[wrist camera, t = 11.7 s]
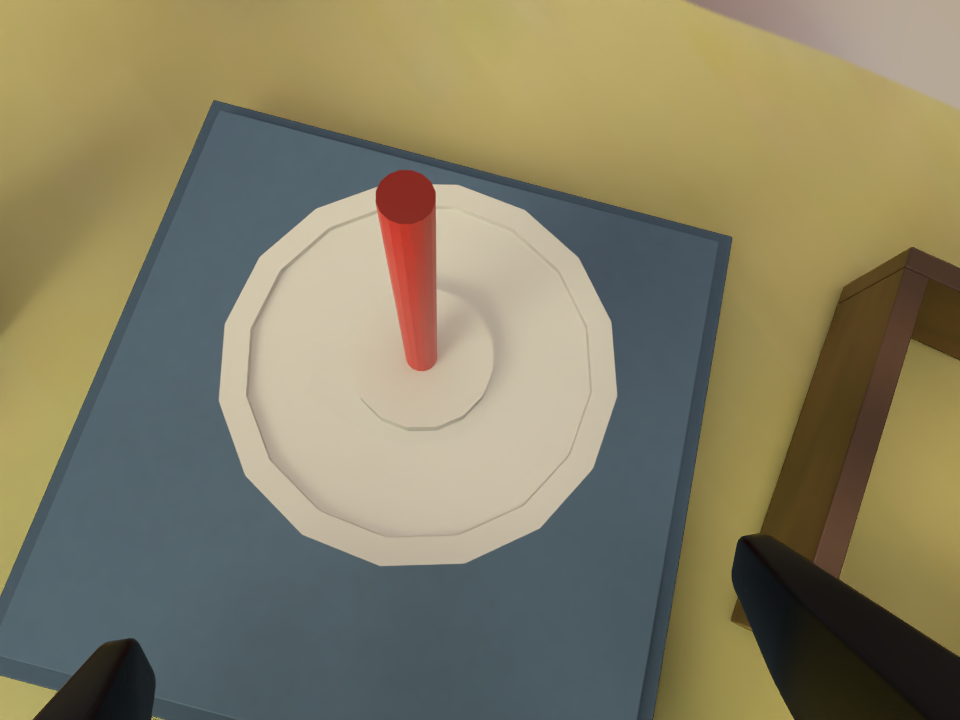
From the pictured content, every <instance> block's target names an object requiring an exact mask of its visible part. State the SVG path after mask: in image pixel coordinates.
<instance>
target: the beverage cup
mask: <svg viewBox="0 0 960 720" xmlns="http://www.w3.org/2000/svg"><path fill="white" fill-rule="evenodd" d="M616 398H617V386H616V373H615V361H614V348H613V336H612V324H611V320H610V318H609V316H608V314H607V312H606V311H605V309H604V307H603V305H602V303H601V301H600V299H599V297H598V295H597V293H596V291H595V289H594V287H593V285H592V283H591V281H590V279H589V277H588V275H587V273H586V271H585V269H584V267H583V265H582V263H581V261H580V259H579V258H578V257H577V256H576V255H575V254H574V253H573V252H572V251H570V250H569V249H568V248H567V247H566V246H565V245H564V244H563V243H561V242H560V241H559V240H558V239H557V238H556V237H555V236H554V235H552V234H551V233H550V232H549V231H548V230H547V229H546V228H544V227H543V226H542V225H541V224H540V223H539V222H538V221H537V220H535V219H534V218H533V217H532V216H531V215H530V214H529V213H528V212H526V211H525V210H523V209H520V208H518V207H515V206H513V205H510V204H507V203H505V202H502V201H499V200H497V199H494V198H492V197H489V196H486V195H484V194H481V193H478V192H476V191H473V190H470V189H468V188H465V187H463V186H460V185H439V184H432V183H431V181H430V180H429V179H427V178H426V177H425V176H424V175H423V174H421V173H418V172H415V171H413V170H399V171H396V172H393V173H390V174H388V175H387V176H386V177H385V178H384V179H383V180H381V181H380V183H379V185H378V187H375V188H373V189H370V190H367V191H364V192H361V193H359V194H356V195H353V196H350V197H347V198H345V199H342V200H339V201H336V202H333V203H331V204H328V205H325V206H322V207H320V208H317V209H315V210H314V211H313V212H312V213H311V214H309V215H308V216H307V217H306V218H305V219H304V220H302V221H301V222H300V223H299V224H298V225H297V226H295V227H294V228H293V229H292V230H291V231H290V232H288V233H287V234H286V235H285V236H284V237H283V238H281V239H280V240H279V241H278V242H277V243H275V244H274V245H273V246H272V247H271V248H270V249H268V250H267V251H266V252H265V253H264V254H263V255H261V256H260V257H259V259H258V261H257V263H256V265H255V267H254V269H253V271H252V273H251V275H250V277H249V278H248V280H247V282H246V284H245V286H244V288H243V290H242V292H241V294H240V296H239V298H238V300H237V301H236V303H235V305H234V307H233V309H232V311H231V313H230V315H229V317H228V319H227V321H226V322H225V328H224V340H223V353H222V366H221V378H220V391H219V403H220V406H221V409H222V411H223V414H224V417H225V420H226V423H227V425H228V428H229V431H230V434H231V437H232V440H233V442H234V445H235V448H236V451H237V454H238V456H239V459H240V462H241V465H242V468H243V471H244V473H245V476H246V477H247V478H248V479H249V480H250V481H251V482H252V483H253V484H254V485H255V486H256V487H257V488H258V489H259V490H260V491H261V492H262V493H263V495H264V496H265V497H266V498H267V499H268V500H269V501H270V502H271V503H272V504H273V505H274V506H275V507H276V508H277V509H278V510H279V511H280V512H281V513H282V514H283V515H284V516H285V517H286V518H287V519H288V520H289V522H290V523H291V524H292V525H293V526H294V527H295V528H296V529H297V530H298V531H299V532H300V533H301V534H302V535H304V536H307V537H309V538H312V539H314V540H317V541H319V542H322V543H324V544H327V545H329V546H331V547H334V548H336V549H339V550H341V551H344V552H346V553H349V554H351V555H354V556H356V557H359V558H361V559H364V560H366V561H369V562H371V563H374V564H376V565H379V566H401V565H434V564H465V563H467V562H469V561H471V560H473V559H476V558H478V557H480V556H482V555H484V554H486V553H488V552H490V551H493V550H495V549H497V548H499V547H501V546H503V545H505V544H508V543H510V542H512V541H514V540H516V539H518V538H520V537H523V536H525V535H527V534H529V533H531V532H533V531H535V530H538V529H540V528H541V527H542V525H543V524H544V523H545V522H546V521H547V520H548V519H549V518H550V516H551V515H552V514H553V513H554V512H555V511H556V510H557V509H558V507H559V506H560V505H561V504H562V503H563V502H564V501H565V500H566V498H567V497H568V496H569V495H570V494H571V493H572V492H573V491H574V489H575V488H576V487H577V486H578V485H579V484H580V483H581V482H582V480H583V479H584V478H585V477H586V476H587V475H588V474H589V473H590V471H591V470H592V469H593V467H594V464H595V461H596V458H597V455H598V452H599V449H600V446H601V443H602V440H603V437H604V434H605V431H606V428H607V425H608V422H609V419H610V416H611V413H612V410H613V407H614V404H615V401H616Z"/></svg>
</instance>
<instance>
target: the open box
mask: <svg viewBox="0 0 960 720" xmlns="http://www.w3.org/2000/svg"><path fill="white" fill-rule="evenodd" d="M911 338H914V339H916V340H918V341H920V342H922V343H924V344H927V345H929V346H931V347H933V348H935V349H938V350H940V351H942V352H944V353H946V354H949V355H951V356H953V357H955V358H957V359H959V360H960V268H958V267H956V266H954V265H952V264H950V263H947V262H945V261H943V260H941V259H938V258H936V257H934V256H932V255H930V254H927V253H925V252H923V251H921V250H918V249H916V248H914V247H911V248H909V249H907V250H906V251H904V252H902V253H900V254H899V255H897V256H895V257H894V258H892V259H890V260H888V261H887V262H885V263H883V264H882V265H880V266H878V267H877V268H875V269H873V270H871V271H870V272H868V273H866V274H865V275H863V276H861V277H860V278H858V279H856V280H854V281H853V282H851V283H849V284H848V285H846V286H845V287H844V288H843V291H842V294H841V297H840V300H839V305H838V306H837V308H836V311H835V314H834V317H833V320H832V323H831V326H830V329H829V332H828V335H827V338H826V341H825V344H824V347H823V350H822V353H821V356H820V359H819V362H818V365H817V368H816V371H815V373H814V376H813V379H812V382H811V385H810V388H809V391H808V394H807V397H806V400H805V403H804V406H803V409H802V412H801V415H800V418H799V421H798V424H797V427H796V430H795V433H794V436H793V439H792V441H791V444H790V447H789V450H788V453H787V456H786V459H785V462H784V465H783V468H782V471H781V474H780V477H779V480H778V483H777V486H776V489H775V492H774V495H773V498H772V501H771V504H770V507H769V509H768V512H767V515H766V518H765V521H764V524H763V527H762V530H761V533H766V534H769V535H771V536H773V537H774V538H776V539H777V540H779V541H780V542H782V543H783V544H785V545H787V546H788V547H790V548H791V549H793V550H794V551H796V552H797V553H799V554H801V555H802V556H804V557H805V558H807V559H808V560H810V561H811V562H813V563H814V564H816V565H818V566H819V567H821V568H822V569H824V570H825V571H827V572H828V573H830V574H831V575H833V576H835V577H836V578H838V579H839V576H840V572H841V569H842V566H843V562H844V559H845V556H846V552H847V549H848V546H849V542H850V539H851V536H852V532H853V529H854V526H855V522H856V519H857V516H858V512H859V509H860V506H861V502H862V499H863V496H864V492H865V489H866V486H867V482H868V479H869V476H870V472H871V469H872V465H873V462H874V459H875V455H876V452H877V449H878V445H879V442H880V439H881V435H882V432H883V429H884V425H885V422H886V419H887V415H888V412H889V409H890V405H891V402H892V399H893V395H894V392H895V389H896V385H897V382H898V379H899V375H900V372H901V369H902V365H903V362H904V359H905V355H906V352H907V349H908V345H909V342H910V339H911ZM731 621H732V622H734V623H736V624H738V625H740V626H742V627H744V628H746V629H748V630H750V631H752V629H751V627H750V624H749V622H748V619H747V617H746V615H745V612H744V610H743V608H742V605H741V603H740V601H739V598H738V601H737V604H736V607H735V610H734V613H733V616H732V619H731ZM752 632H753V631H752Z"/></svg>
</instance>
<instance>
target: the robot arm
mask: <svg viewBox="0 0 960 720" xmlns="http://www.w3.org/2000/svg"><path fill="white" fill-rule="evenodd" d="M732 582H733V586H734V589H735V591H736V593H737V596H738V598H739V601H740V603H741V605H742V608H743V610H744V612H745V615H746V617H747V619H748V622H749V624H750V627H751V629H752V631H753V634H754V636H755V638H756V641H757V643H758V646H759V648H760V650H761V653H762V655H763V657H764V660H765V662H766V665H767V667H768V669H769V671H770V674H771V676H772V678H773V680H774V682H775V684H776V686H777V688H778V690H779V692H780V694H781V696H782V698H783V700H784V702H785V703H786V705H787V707H788V709H789V711H790V713H791V714H792V716H793V718H794V720H960V657H958V656H957V655H955V654H954V653H952V652H951V651H949V650H948V649H946V648H945V647H943V646H941V645H940V644H938V643H937V642H935V641H934V640H932V639H931V638H929V637H927V636H926V635H924V634H923V633H921V632H920V631H918V630H917V629H915V628H914V627H912V626H910V625H909V624H907V623H906V622H904V621H903V620H901V619H900V618H898V617H897V616H895V615H893V614H892V613H890V612H889V611H887V610H886V609H884V608H883V607H881V606H879V605H878V604H876V603H875V602H873V601H872V600H870V599H869V598H867V597H866V596H864V595H862V594H861V593H859V592H858V591H856V590H855V589H853V588H852V587H850V586H849V585H847V584H845V583H844V582H842V581H841V580H839V579H838V578H836V577H835V576H833V575H831V574H830V573H828V572H827V571H825V570H824V569H822V568H821V567H819V566H818V565H816V564H814V563H813V562H811V561H810V560H808V559H807V558H805V557H804V556H802V555H801V554H799V553H797V552H796V551H794V550H793V549H791V548H790V547H788V546H787V545H785V544H783V543H782V542H780V541H779V540H777V539H776V538H774V537H773V536H771V535H769V534H766V533H758V534H752V535H746V536H742V537H741V538H740V539H739V540H738V543H737V547H736V552H735V557H734V562H733V567H732ZM155 689H156V678H155V673H154V671H153V669H152V667H151V665H150V663H149V661H148V659H147V657H146V655H145V653H144V651H143V649H142V648H141V646H140V644H139V642H138V641H137V640H135V639H134V638H126V639H120V640H114V641H109V642H106V643H104V644H102V645H101V646H99V647H98V648H97V649H96V650H95V651H94V653H93V654H92V655H91V656H90V657H89V658H88V659H87V660H86V661H85V662H84V664H83V665H82V666H81V667H80V668H79V669H78V670H77V671H76V672H75V674H74V675H73V676H72V677H71V678H70V679H69V680H68V681H67V682H66V683H65V685H64V686H63V687H62V688H61V689H60V690H59V691H58V692H57V693H56V694H55V696H54V697H53V698H52V699H51V700H50V701H49V702H48V703H47V704H46V705H45V707H44V708H43V709H42V710H41V711H40V712H39V713H38V714H37V715H36V716H35V718H34V719H33V720H151V717H152V710H153V704H154V697H155Z"/></svg>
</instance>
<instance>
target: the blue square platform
mask: <svg viewBox="0 0 960 720" xmlns="http://www.w3.org/2000/svg"><path fill="white" fill-rule="evenodd" d="M399 170H413V171H415V172H418V173H421V174H423V175H424V176H425V177H426V178H427V179H429V180H430V181H431V183H432V184H439V185H460V186H463V187H465V188H468V189H470V190H473V191H476V192H478V193H481V194H484V195H486V196H489V197H492V198H494V199H497V200H499V201H502V202H505V203H507V204H510V205H513V206H515V207H518V208H520V209H523V210H525V211H526V212H528V213H529V214H530V215H531V216H532V217H533V218H534V219H535V220H537V221H538V222H539V223H540V224H541V225H542V226H543V227H544V228H546V229H547V230H548V231H549V232H550V233H551V234H552V235H554V236H555V237H556V238H557V239H558V240H559V241H560V242H561V243H563V244H564V245H565V246H566V247H567V248H568V249H569V250H570V251H572V252H573V253H574V254H575V255H576V256H577V257H578V258H579V259H580V261H581V263H582V265H583V267H584V269H585V271H586V273H587V275H588V277H589V279H590V281H591V283H592V285H593V287H594V289H595V291H596V293H597V295H598V297H599V299H600V301H601V303H602V305H603V307H604V309H605V311H606V312H607V314H608V316H609V318H610V320H611V324H612V336H613V348H614V361H615V373H616V386H617V398H616V401H615V404H614V407H613V410H612V413H611V416H610V419H609V422H608V425H607V428H606V431H605V434H604V437H603V440H602V443H601V446H600V449H599V452H598V455H597V458H596V461H595V464H594V467H593V469H592V470H591V471H590V473H589V474H588V475H587V476H586V477H585V478H584V479H583V480H582V482H581V483H580V484H579V485H578V486H577V487H576V488H575V489H574V491H573V492H572V493H571V494H570V495H569V496H568V497H567V498H566V500H565V501H564V502H563V503H562V504H561V505H560V506H559V507H558V509H557V510H556V511H555V512H554V513H553V514H552V515H551V516H550V518H549V519H548V520H547V521H546V522H545V523H544V524H543V525H542V527H541V528H540V529H538V530H535V531H533V532H531V533H529V534H527V535H525V536H523V537H520V538H518V539H516V540H514V541H512V542H510V543H508V544H505V545H503V546H501V547H499V548H497V549H495V550H493V551H490V552H488V553H486V554H484V555H482V556H480V557H478V558H476V559H473V560H471V561H469V562H467V563H465V564H434V565H401V566H379V565H376V564H374V563H371V562H369V561H366V560H364V559H361V558H359V557H356V556H354V555H351V554H349V553H346V552H344V551H341V550H339V549H336V548H334V547H331V546H329V545H327V544H324V543H322V542H319V541H317V540H314V539H312V538H309V537H307V536H304V535H302V534H301V533H300V532H299V531H298V530H297V529H296V528H295V527H294V526H293V525H292V524H291V523H290V522H289V520H288V519H287V518H286V517H285V516H284V515H283V514H282V513H281V512H280V511H279V510H278V509H277V508H276V507H275V506H274V505H273V504H272V503H271V502H270V501H269V500H268V499H267V498H266V497H265V496H264V495H263V493H262V492H261V491H260V490H259V489H258V488H257V487H256V486H255V485H254V484H253V483H252V482H251V481H250V480H249V479H248V478H247V477H246V476H245V473H244V471H243V468H242V465H241V462H240V459H239V456H238V454H237V451H236V448H235V445H234V442H233V440H232V437H231V434H230V431H229V428H228V425H227V423H226V420H225V417H224V414H223V411H222V409H221V406H220V403H219V391H220V378H221V366H222V353H223V340H224V328H225V322H226V321H227V319H228V317H229V315H230V313H231V311H232V309H233V307H234V305H235V303H236V301H237V300H238V298H239V296H240V294H241V292H242V290H243V288H244V286H245V284H246V282H247V280H248V278H249V277H250V275H251V273H252V271H253V269H254V267H255V265H256V263H257V261H258V259H259V257H260V256H261V255H263V254H264V253H265V252H266V251H267V250H268V249H270V248H271V247H272V246H273V245H274V244H275V243H277V242H278V241H279V240H280V239H281V238H283V237H284V236H285V235H286V234H287V233H288V232H290V231H291V230H292V229H293V228H294V227H295V226H297V225H298V224H299V223H300V222H301V221H302V220H304V219H305V218H306V217H307V216H308V215H309V214H311V213H312V212H313V211H314V210H315V209H317V208H320V207H322V206H325V205H328V204H331V203H333V202H336V201H339V200H342V199H345V198H347V197H350V196H353V195H356V194H359V193H361V192H364V191H367V190H370V189H373V188H375V187H378V185H379V183H380V181H381V180H383V179H384V178H385V177H386V176H387V175H388V174H390V173H393V172H396V171H399ZM731 243H732V237H730V236H727V235H723V234H719V233H715V232H711V231H708V230H704V229H700V228H696V227H692V226H689V225H685V224H681V223H677V222H674V221H670V220H666V219H662V218H658V217H655V216H651V215H647V214H643V213H639V212H636V211H632V210H628V209H624V208H621V207H617V206H613V205H609V204H605V203H602V202H598V201H594V200H590V199H586V198H583V197H579V196H575V195H571V194H568V193H564V192H560V191H556V190H552V189H549V188H545V187H541V186H537V185H533V184H530V183H526V182H522V181H518V180H515V179H511V178H507V177H503V176H499V175H496V174H492V173H488V172H484V171H480V170H477V169H473V168H469V167H465V166H462V165H458V164H454V163H450V162H446V161H443V160H439V159H435V158H431V157H427V156H424V155H420V154H416V153H412V152H409V151H405V150H401V149H397V148H393V147H390V146H386V145H382V144H378V143H374V142H371V141H367V140H363V139H359V138H356V137H352V136H348V135H344V134H340V133H337V132H333V131H329V130H325V129H321V128H318V127H314V126H310V125H306V124H303V123H299V122H295V121H291V120H287V119H284V118H280V117H276V116H272V115H268V114H265V113H261V112H257V111H253V110H250V109H246V108H242V107H238V106H234V105H231V104H227V103H223V102H219V101H215V100H214V101H213V103H212V105H211V107H210V110H209V112H208V114H207V117H206V119H205V121H204V124H203V126H202V128H201V131H200V133H199V135H198V138H197V140H196V142H195V145H194V147H193V149H192V152H191V154H190V156H189V159H188V161H187V163H186V166H185V168H184V170H183V173H182V175H181V177H180V180H179V182H178V184H177V187H176V189H175V191H174V194H173V196H172V198H171V201H170V203H169V205H168V207H167V210H166V212H165V214H164V217H163V219H162V221H161V224H160V226H159V228H158V231H157V233H156V235H155V238H154V240H153V242H152V245H151V247H150V249H149V252H148V254H147V256H146V259H145V261H144V263H143V266H142V268H141V270H140V273H139V275H138V277H137V280H136V282H135V284H134V287H133V289H132V291H131V294H130V296H129V298H128V301H127V303H126V305H125V308H124V310H123V312H122V315H121V317H120V319H119V322H118V324H117V326H116V329H115V331H114V333H113V335H112V338H111V340H110V342H109V345H108V347H107V349H106V352H105V354H104V356H103V359H102V361H101V363H100V366H99V368H98V370H97V373H96V375H95V377H94V380H93V382H92V384H91V387H90V389H89V391H88V394H87V396H86V398H85V401H84V403H83V405H82V408H81V410H80V412H79V415H78V417H77V419H76V422H75V424H74V426H73V429H72V431H71V433H70V436H69V438H68V440H67V443H66V445H65V447H64V450H63V452H62V454H61V457H60V459H59V461H58V463H57V466H56V468H55V470H54V473H53V475H52V477H51V480H50V482H49V484H48V487H47V489H46V491H45V494H44V496H43V498H42V501H41V503H40V505H39V508H38V510H37V512H36V515H35V517H34V519H33V522H32V524H31V526H30V529H29V531H28V533H27V536H26V538H25V540H24V543H23V545H22V547H21V550H20V552H19V554H18V557H17V559H16V561H15V564H14V566H13V568H12V571H11V573H10V575H9V578H8V580H7V582H6V585H5V587H4V589H3V591H2V594H1V596H0V676H4V677H8V678H11V679H15V680H19V681H23V682H26V683H30V684H34V685H38V686H41V687H45V688H49V689H53V690H56V691H59V690H60V689H61V688H62V687H63V686H64V685H65V683H66V682H67V681H68V680H69V679H70V678H71V677H72V676H73V675H74V674H75V672H76V671H77V670H78V669H79V668H80V667H81V666H82V665H83V664H84V662H85V661H86V660H87V659H88V658H89V657H90V656H91V655H92V654H93V653H94V651H95V650H96V649H97V648H98V647H99V646H101V645H102V644H104V643H106V642H109V641H114V640H120V639H126V638H134V639H135V640H137V641H138V642H139V644H140V646H141V648H142V649H143V651H144V653H145V655H146V657H147V659H148V661H149V663H150V665H151V667H152V669H153V671H154V673H155V678H156V689H155V697H154V704H153V710H152V716H154V717H158V718H161V719H165V720H653V716H654V710H655V704H656V698H657V692H658V686H659V680H660V673H661V667H662V661H663V655H664V649H665V643H666V637H667V631H668V625H669V619H670V613H671V607H672V601H673V595H674V589H675V583H676V576H677V570H678V564H679V558H680V552H681V546H682V540H683V534H684V528H685V522H686V516H687V510H688V504H689V498H690V492H691V486H692V480H693V473H694V467H695V461H696V455H697V449H698V443H699V437H700V431H701V425H702V419H703V413H704V407H705V401H706V395H707V389H708V383H709V377H710V370H711V364H712V358H713V352H714V346H715V340H716V334H717V328H718V322H719V316H720V310H721V304H722V298H723V292H724V286H725V280H726V273H727V267H728V261H729V255H730V249H731Z"/></svg>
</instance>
